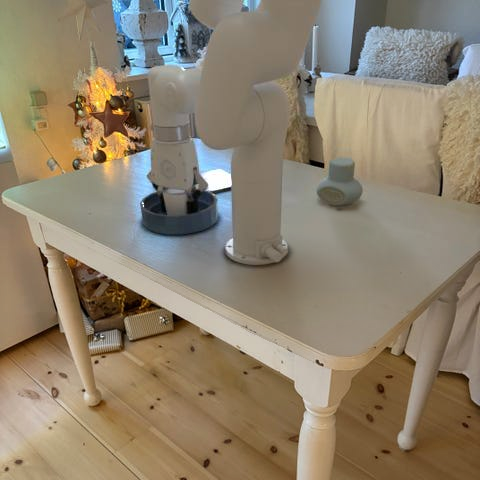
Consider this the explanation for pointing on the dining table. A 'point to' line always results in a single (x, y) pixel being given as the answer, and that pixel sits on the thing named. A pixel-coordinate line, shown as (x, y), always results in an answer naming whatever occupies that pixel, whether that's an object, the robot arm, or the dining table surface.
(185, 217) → the bowl
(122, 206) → the dining table surface
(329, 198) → the air freshener
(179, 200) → the white cup
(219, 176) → the board
